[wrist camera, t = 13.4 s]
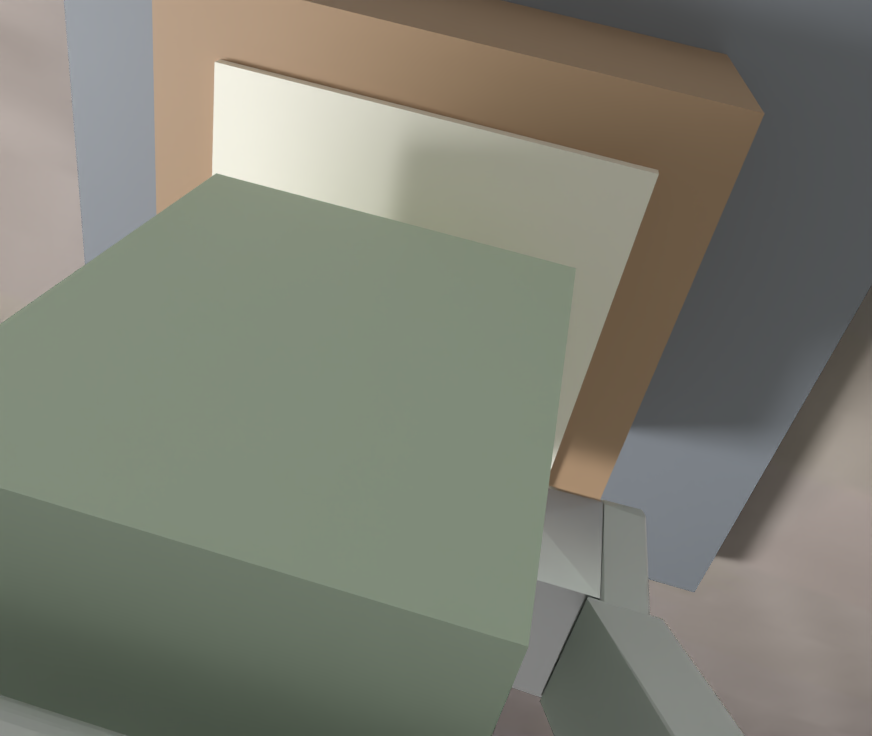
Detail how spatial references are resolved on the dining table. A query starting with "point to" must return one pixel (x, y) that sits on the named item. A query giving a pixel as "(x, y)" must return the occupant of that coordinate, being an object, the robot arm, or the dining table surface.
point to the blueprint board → (545, 189)
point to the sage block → (278, 474)
